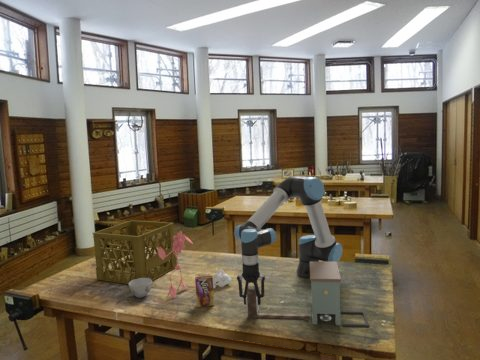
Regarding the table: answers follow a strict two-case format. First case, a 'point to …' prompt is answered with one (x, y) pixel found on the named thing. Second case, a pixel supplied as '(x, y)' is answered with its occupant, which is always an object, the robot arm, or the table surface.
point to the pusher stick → (254, 314)
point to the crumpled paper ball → (220, 276)
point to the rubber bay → (356, 313)
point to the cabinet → (325, 289)
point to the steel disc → (325, 317)
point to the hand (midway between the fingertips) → (252, 310)
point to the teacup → (140, 286)
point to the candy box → (204, 290)
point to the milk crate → (133, 252)
